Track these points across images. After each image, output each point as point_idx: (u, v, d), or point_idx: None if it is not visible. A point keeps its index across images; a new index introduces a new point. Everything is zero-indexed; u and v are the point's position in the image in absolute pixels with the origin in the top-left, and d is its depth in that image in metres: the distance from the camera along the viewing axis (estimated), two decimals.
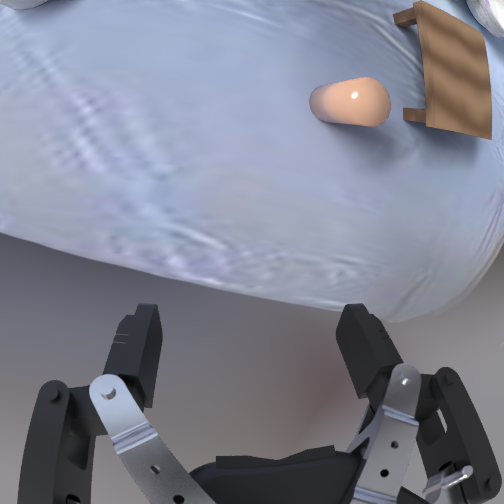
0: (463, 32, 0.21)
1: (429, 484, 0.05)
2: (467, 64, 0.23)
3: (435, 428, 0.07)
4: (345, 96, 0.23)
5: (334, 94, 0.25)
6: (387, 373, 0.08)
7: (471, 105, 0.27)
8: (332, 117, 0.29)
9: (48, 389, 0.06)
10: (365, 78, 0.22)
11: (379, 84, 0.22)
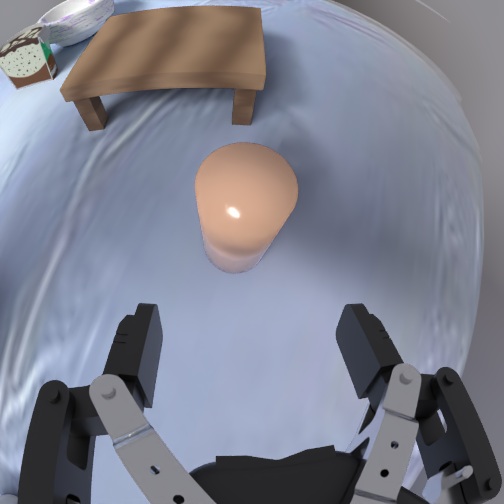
0: (108, 36, 0.21)
1: (429, 484, 0.05)
2: (155, 30, 0.21)
3: (435, 428, 0.07)
4: (240, 235, 0.14)
5: (230, 248, 0.16)
6: (387, 373, 0.08)
7: (217, 26, 0.22)
8: None
9: (48, 389, 0.06)
10: (197, 189, 0.14)
11: (208, 161, 0.14)
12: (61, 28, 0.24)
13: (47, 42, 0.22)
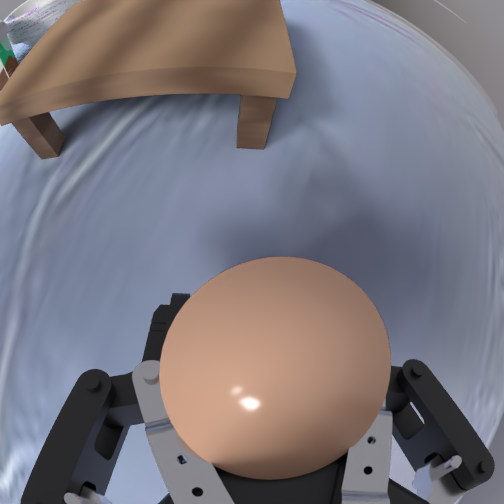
0: (63, 27, 0.12)
1: (418, 478, 0.05)
2: (125, 12, 0.13)
3: (410, 420, 0.08)
4: (267, 471, 0.05)
5: None
6: None
7: (215, 3, 0.14)
8: None
9: (89, 377, 0.07)
10: (168, 397, 0.05)
11: (187, 318, 0.06)
12: (26, 25, 0.16)
13: (5, 42, 0.13)
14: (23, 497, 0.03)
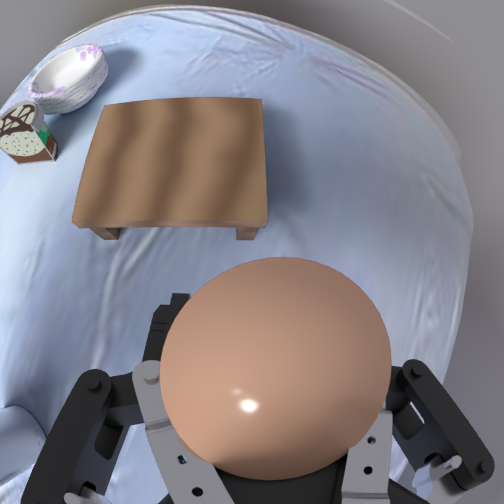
0: (106, 145, 0.26)
1: (418, 478, 0.05)
2: (155, 143, 0.27)
3: (410, 420, 0.08)
4: (267, 472, 0.05)
5: None
6: None
7: (218, 139, 0.28)
8: None
9: (89, 378, 0.07)
10: (168, 398, 0.05)
11: (187, 319, 0.06)
12: (55, 102, 0.30)
13: (42, 125, 0.28)
14: (23, 497, 0.02)
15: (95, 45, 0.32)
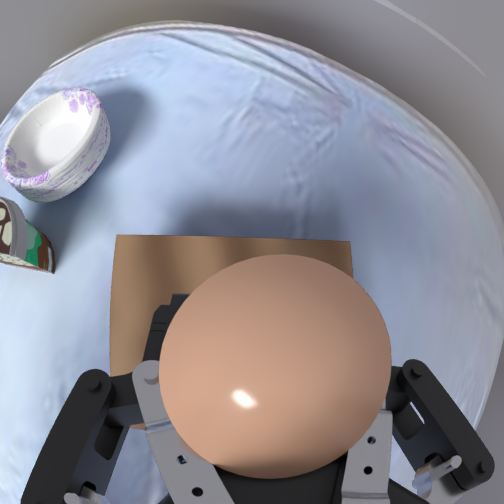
0: (136, 319, 0.20)
1: (418, 478, 0.05)
2: None
3: (410, 420, 0.08)
4: (267, 471, 0.05)
5: None
6: None
7: None
8: None
9: (89, 378, 0.07)
10: (167, 395, 0.05)
11: (187, 316, 0.06)
12: (39, 192, 0.23)
13: (28, 240, 0.21)
14: (23, 496, 0.03)
15: (89, 93, 0.25)
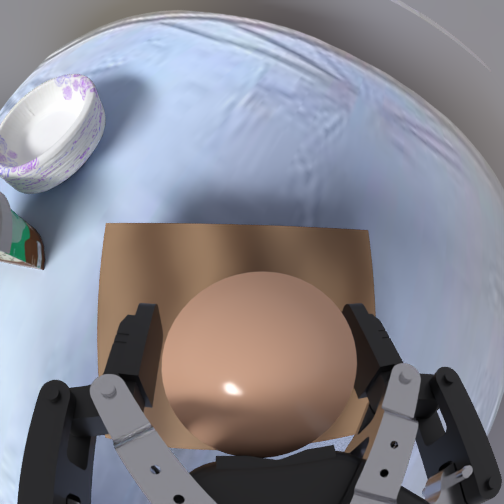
0: None
1: (429, 484, 0.05)
2: None
3: (435, 428, 0.07)
4: (250, 452, 0.07)
5: None
6: (386, 373, 0.08)
7: None
8: None
9: (49, 389, 0.06)
10: (168, 385, 0.06)
11: (184, 321, 0.07)
12: (28, 181, 0.20)
13: (14, 233, 0.18)
14: None
15: (83, 78, 0.22)
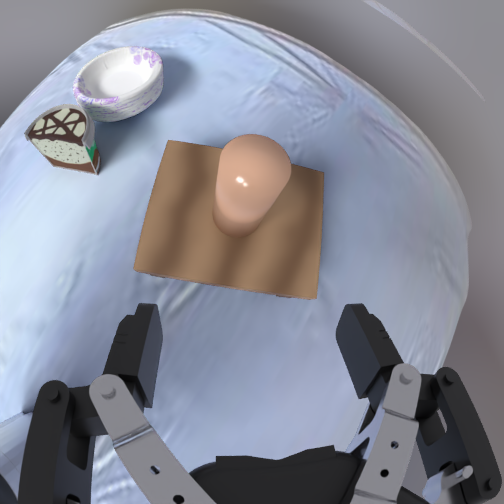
0: (172, 191, 0.30)
1: (429, 484, 0.05)
2: None
3: (435, 428, 0.07)
4: (245, 196, 0.20)
5: (235, 208, 0.22)
6: (387, 373, 0.08)
7: (283, 212, 0.32)
8: (262, 216, 0.25)
9: (48, 389, 0.06)
10: (221, 160, 0.19)
11: (231, 143, 0.20)
12: (105, 111, 0.32)
13: None
14: None
15: (153, 52, 0.34)
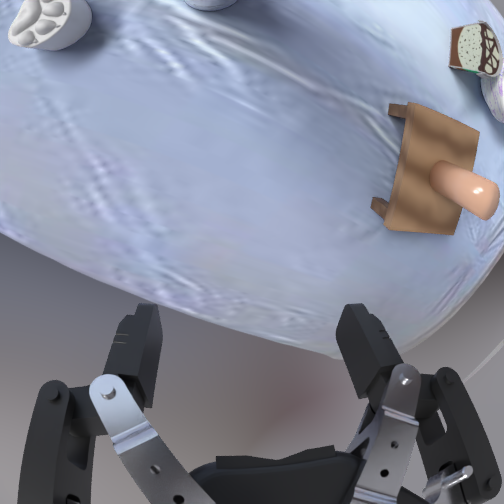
0: (454, 133, 0.31)
1: (429, 484, 0.05)
2: None
3: (435, 428, 0.07)
4: (478, 194, 0.25)
5: (466, 184, 0.27)
6: (387, 373, 0.08)
7: (437, 207, 0.38)
8: (452, 197, 0.31)
9: (48, 389, 0.06)
10: (493, 183, 0.24)
11: (497, 189, 0.25)
12: (492, 82, 0.27)
13: (479, 73, 0.26)
14: None
15: None
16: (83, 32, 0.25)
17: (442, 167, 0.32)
